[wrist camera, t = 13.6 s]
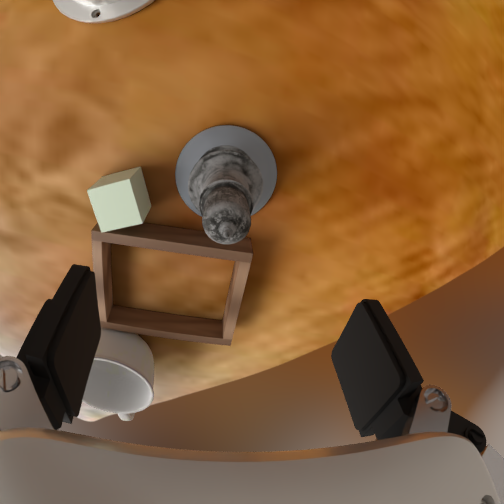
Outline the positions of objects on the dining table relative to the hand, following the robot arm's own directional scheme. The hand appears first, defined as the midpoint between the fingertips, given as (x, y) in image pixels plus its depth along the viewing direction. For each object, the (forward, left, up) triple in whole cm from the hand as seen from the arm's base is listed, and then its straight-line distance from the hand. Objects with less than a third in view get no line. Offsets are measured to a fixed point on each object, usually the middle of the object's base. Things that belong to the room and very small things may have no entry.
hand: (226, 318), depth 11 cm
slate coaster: (+1, 0, -20) cm, 20 cm away
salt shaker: (0, 0, -19) cm, 19 cm away
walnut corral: (+13, -4, -20) cm, 24 cm away
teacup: (+26, -10, -20) cm, 34 cm away
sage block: (+4, -9, -20) cm, 22 cm away
